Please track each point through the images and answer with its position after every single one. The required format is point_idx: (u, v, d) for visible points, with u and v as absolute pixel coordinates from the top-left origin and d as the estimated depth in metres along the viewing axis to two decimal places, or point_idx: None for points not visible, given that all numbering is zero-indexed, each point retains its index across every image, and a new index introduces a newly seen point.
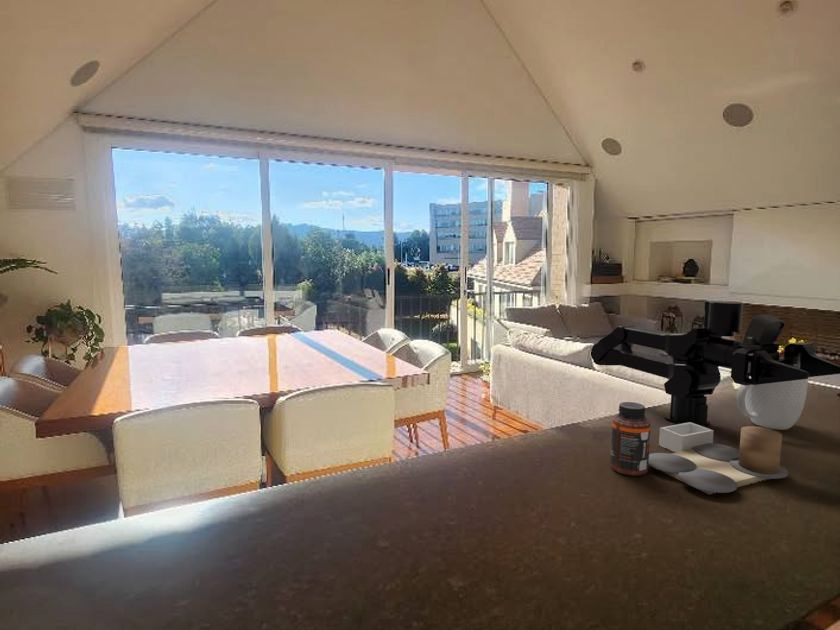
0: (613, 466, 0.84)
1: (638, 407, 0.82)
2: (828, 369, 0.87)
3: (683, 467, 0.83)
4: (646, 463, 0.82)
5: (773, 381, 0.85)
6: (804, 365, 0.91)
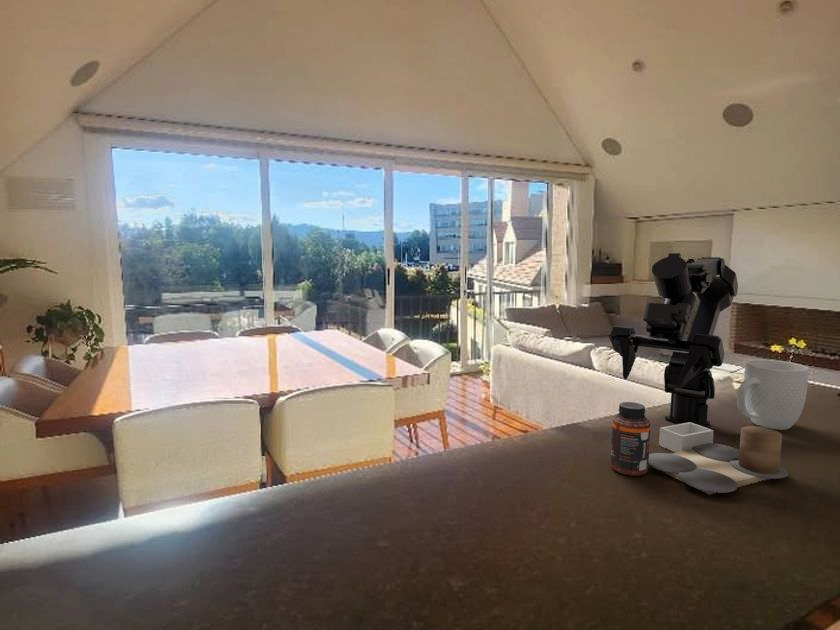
0: (613, 466, 0.84)
1: (638, 407, 0.82)
2: None
3: (683, 467, 0.83)
4: (646, 463, 0.82)
5: None
6: None
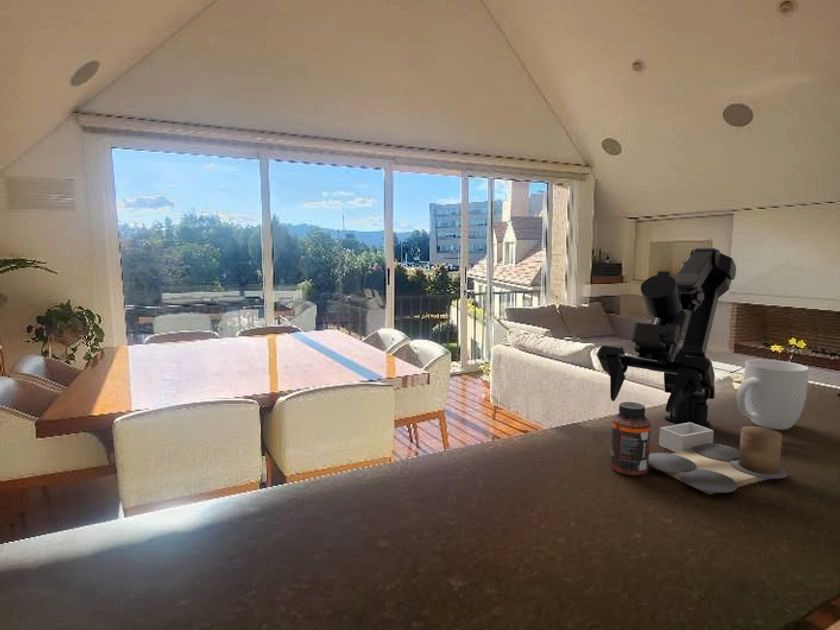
0: (613, 466, 0.84)
1: (638, 407, 0.82)
2: None
3: (683, 467, 0.83)
4: (646, 463, 0.82)
5: None
6: None
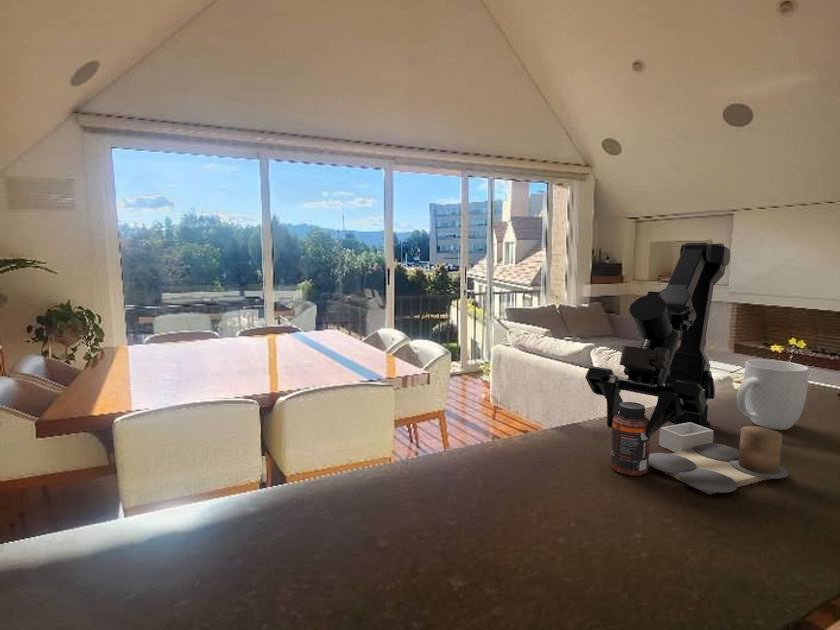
0: (613, 466, 0.84)
1: (638, 407, 0.82)
2: None
3: (683, 467, 0.83)
4: (646, 463, 0.82)
5: None
6: None
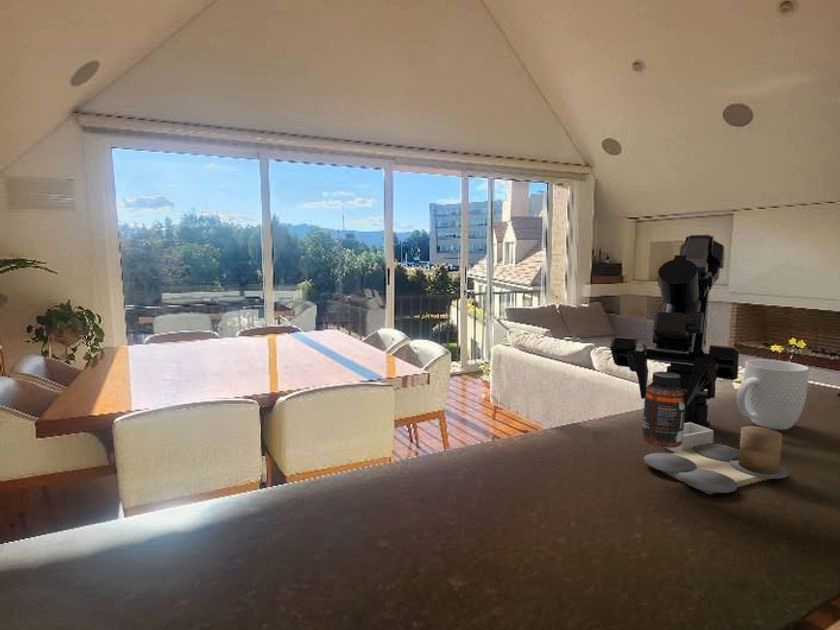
0: (647, 439, 0.80)
1: (675, 376, 0.79)
2: None
3: (683, 467, 0.83)
4: (682, 434, 0.79)
5: None
6: None
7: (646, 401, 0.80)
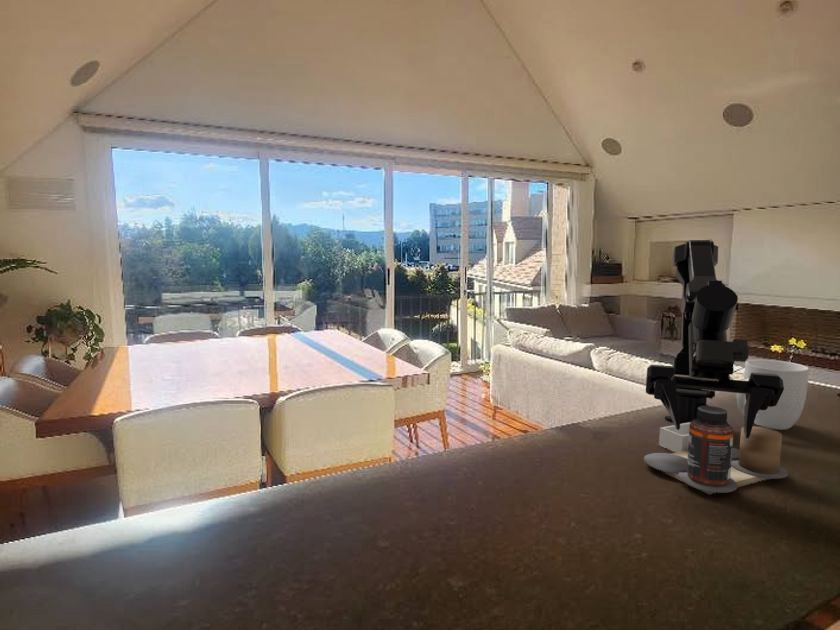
0: (697, 478, 0.77)
1: (722, 411, 0.76)
2: (745, 425, 0.76)
3: (683, 467, 0.83)
4: (730, 470, 0.77)
5: (666, 408, 0.82)
6: (747, 402, 0.78)
7: (694, 439, 0.77)
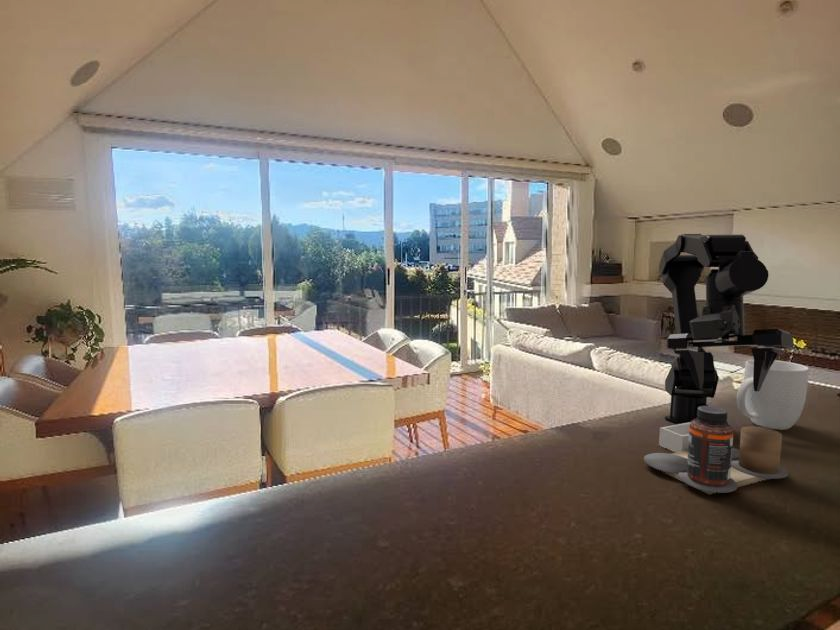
0: (697, 478, 0.77)
1: (722, 411, 0.76)
2: None
3: (683, 467, 0.83)
4: (730, 470, 0.77)
5: None
6: None
7: (694, 439, 0.77)
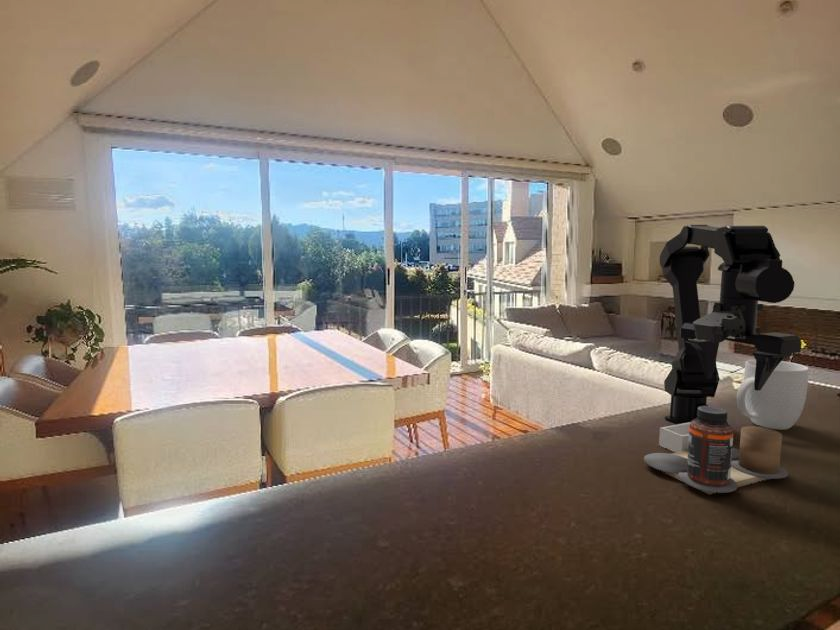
0: (697, 478, 0.77)
1: (722, 411, 0.76)
2: None
3: (683, 467, 0.83)
4: (730, 470, 0.77)
5: None
6: None
7: (694, 439, 0.77)
